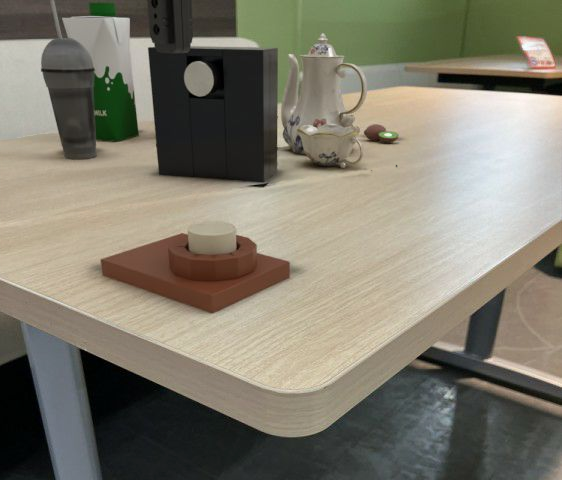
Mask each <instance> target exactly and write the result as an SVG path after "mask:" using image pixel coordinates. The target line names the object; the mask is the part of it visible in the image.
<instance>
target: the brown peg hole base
mask: <svg viewBox="0 0 562 480" xmlns="http://www.w3.org/2000/svg"><path fill="white" fill-rule="evenodd" d="M290 264H291V262H290V261H288V260H286V259H282V258H277V257H274V256H270V255H266V254H262V253H258V250H257V243H255V242H254V241H253V240H252V239H251V238H249V237H247V236H243V235H239V234H236V251H233V252H231V253H226V254H218V255H205V254H196V253H193V252H189V243H188V233H183V232H181V233H178V234H175V235H172V236H169V237H166V238H163V239H159V240H156V241H152V242H150V243H147V244H144V245H141V246H136V247H135V248H132V249H128V250H126V251H122V252H119V253H116V254H113V255H109V256H106V257H103V258H100V265H101V273H102V276H104V277H105V278H106V277H107V278H110V279H112V280H115V281H118V282H121V283H123V284H127V285H129V286H133V287H134V288H138V289H141V290H144V291H145V292H150V293H153V294H155V295H158V296H160V297H164V298H166V299H170V300H172V301H176V302H178V303H181V304H184V305H187V306H190V307H192V308H195V309H199V310H201V311H204V312H206V313H210V314H215V313H218V312H220V311H221V310H223V309H225V308H227V307H230V306H232V305H234V304H237V303H238V302H240V301H242V300H246V299H247V298H249V297H251V296H253V295H255V294H257V293H260V292H262V291H264V290H266V289H268V288H271V287H272V286H275V285H277V284H278V283H281V282H283V281H286V280H288V279H290V273H291V272H290V271H291V269H290V268H291V265H290Z"/></svg>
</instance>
